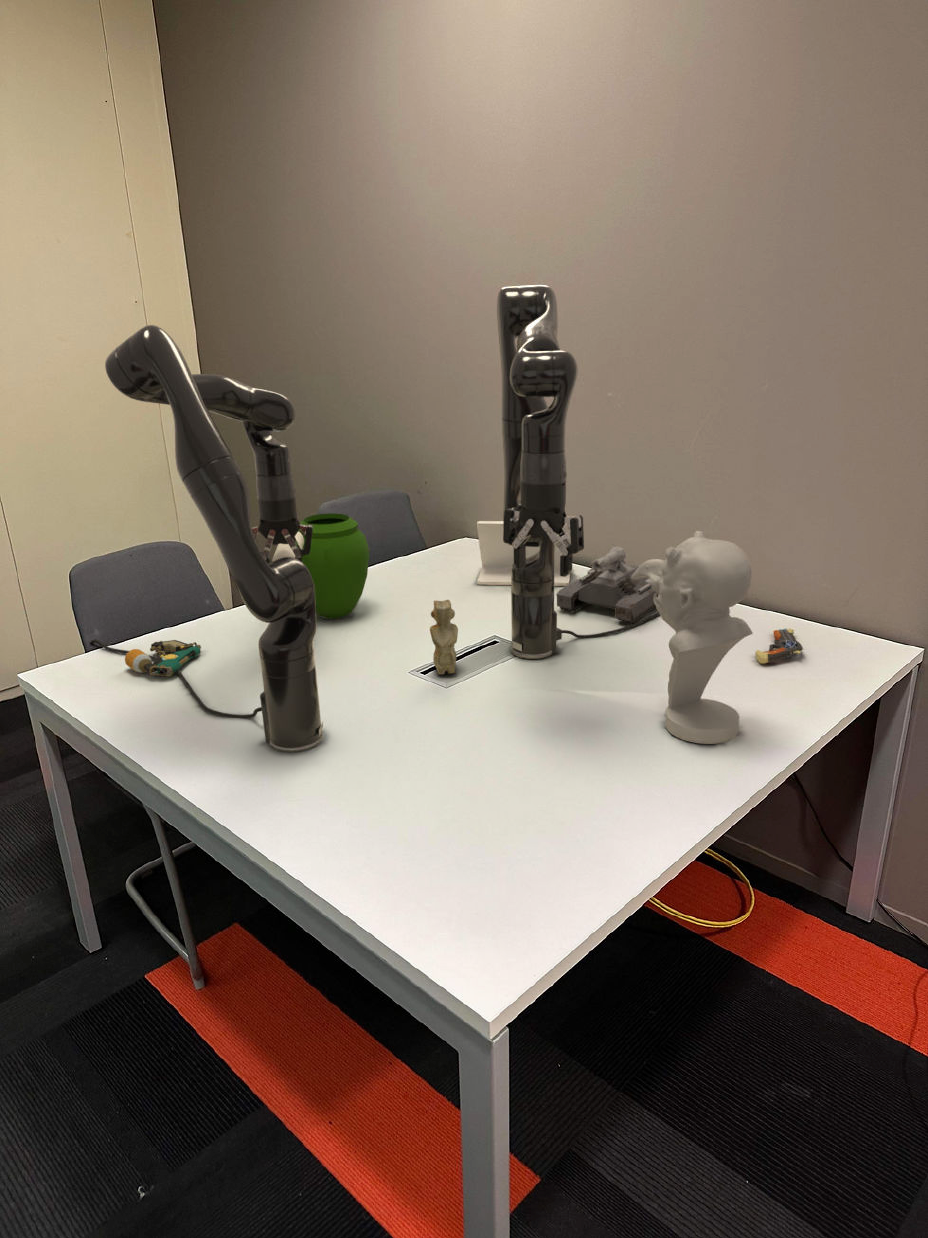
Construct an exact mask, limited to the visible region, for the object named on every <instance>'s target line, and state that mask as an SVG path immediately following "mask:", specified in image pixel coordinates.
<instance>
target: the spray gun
mask: <svg viewBox="0 0 928 1238" xmlns="http://www.w3.org/2000/svg"><path fill="white" fill-rule="evenodd" d="M201 649H202V645H201V644H198V643H197V642H196V641H194V642H190V643H186V642H183V641H181V640H177V639H171V640H159V641H154V642H153V643H151V645H150V648H149V651H150V652H155V653H156V658H155V659H154V660H152V659H151V658H150V657H149V656H148V655H149V654H147V653H145V651H142V650H141V649H138V648H132V649H130V650H128V651H129V652H128V653H127V654H125V656H124V662H125V665H126V666H127V667H128V668H130V669H131V670H133V671H135V672H137V673H139V674H143V673H146V672H147V673H149V674H150V675H151V676H162V677H171V676H172V675H173V674H174V673H175V671H177V670H178V671H179V669H181V667H182V666H184V664H186V663H187V662H189V660H191V659H192V658H196V657H197V656H198V655H200V654H201ZM168 652H170V653H169V654H166V653H168Z"/></svg>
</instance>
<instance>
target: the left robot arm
mask: <svg viewBox="0 0 928 1238" xmlns="http://www.w3.org/2000/svg"><path fill="white" fill-rule="evenodd" d="M104 369H105V373H106V375H107V378H108V379H109V381H110V383H111V385H113V387H114V388H115V389H116V390H117V391H119V392H120V393H121V394H122V395H124V396H125V397H127V398H129V399H132V400H135V401H139V402H143V403H144V402H145V403H151V404H160V405H167V406H170V409H171V413H172V416H173V424H174V425H173V427H174V458H175V467H176V471H177V473H178V476H179V478H180V480H181V482H182V484H183V485H184V487H185V489H186V491H187V493H188V494H189V497H190V498H191V500H192V501H193V503H194V505H195V507H196V508H197V510H198V511H199V514H200V515H201V517H202V519H203V520H204V522H205V524H206V526H207V528H208V529H209V532H210V533H211V535H212V537H213V540H214V541H215V543H216V545H217V547H218V549H219V551H220V553H221V556H222V557H223V559H224V562H225V564H226V566H227V569H228V571H229V574H230V576H231V578H232V580H233V583H234V584H235V587H236V590H237V593H238V594H239V596H240V598H241V600H242V603H243V604H244V606H245V607H246V609H247V610H248V611H249V613H250V614H251V615H252V616H253V617H254V618H255V619H256V620H258V621H260V622H262V623H267V626H266V628H265V630H264V631H263V632H262V634H261V635H260V636H259V639H258V653H259V661H260V667H261V669H260V671H261V677H262V684H263V685H262V686H263V692H261V693H260V695H259V699H260V706H259V707H257V708H255V709H254V710H253V712H252V713H250V714H249V713H248V714H235V713H234V714H233V713H227V712H222V711H218V710H214V709H212V708H209V707H208V706H206V705H205V704H204V702H203V701H202V699H201V698H200V697H199V695H198V694H197V693H196V692H195V691H194V688H193V687H192V686H191V684H190V683H189V682H188V680H187V679H186V677H185V676H184V675H183V673H181V671H180V670H179V669H178V670H177V671H175V672H174V673H175V674H176V675H177V676H178V677H179V678H180V680H181V681H182V682H183V684H184V685H185V687H186V688H187V690H188V691H189V692H190V694H191V695H192V697H193V698H194V699H195V700H196V702H197V703H198V705H199V706H200V708H201V709H202V710H204V711H205V712H207V713H210V714H212V715H216V716H219V717H223V718H232V719H252V718H255V717H256V716H257V714H258V713H260V712H261V716H262V723H263V731H264V732H263V733H264V739H265V743H267V744H269V745H270V747H271V748H273V749H275V750H276V751H280V752H284V753H285V752H286V753H296V752H302V751H307V750H309V749H312V748H314V747H316V746H317V745H319V744H320V743H321V742H322V741H323V739H324V733H323V732H324V731H323V728H324V721H322V719H321V709H320V696H319V686H318V677H317V669H316V658H315V657H316V656H315V647H314V640H315V637H316V634H317V614H316V601H315V589H314V583H313V579H312V577H311V574H310V572H309V570H308V569H307V567H306V566H305V565H304V564H303V561H302V557H303V556H304V555H308V554H309V553H310V549H311V541H312V533H313V525H311V524H309V525H302V524H300V521H299V519H298V513H297V511H298V510H297V502H296V501H297V500H296V488H295V482H294V478H293V472H292V461H291V453H290V448H289V446H288V445H287V444H286V443H284V442H282V441H279V440H277V439H276V438H275V436H274V434H273V432H284V431H286V430H288V429H289V428H291V427H292V426H293V424H294V422H295V420H296V408H295V405H294V404H293V402H292V401H291V399H289V398H288V397H287V396H285V395H284V394H282V393H279V392H275V391H273V390H272V391H271V390H269V389H268V390H267V389H262V388H259V387H254V386H251V385H248V384H246V383H243V382H241V381H239V380H237V379H235V378H232V377H229V376H226V375H223V374H218V373H192V372H191V369H190V367H189V365H188V363H187V361H186V358H185V357H184V355H183V353H182V351H181V349H180V347H179V346H178V345H177V343H176V342H175V340H174V339H173V338H172V337H171V335H170V334H169V333H167V331H166V330H164V329H163V328H161V327H159V326H157V325H156V324H155V325H154V324H147V325H144V326H143V327H141V328H139V329H138V330H137V331H135V332H134V333H132V335H130V336H129V337H127V339H125V341H123V342H122V343H120V344H119V345H118V346H116V347H115V348H114V349H113V350H111V352H110V353H109V354H108V356H107V357H106V359H105V362H104ZM210 413H213V414H216V415H218V416H221V417H224V418H227V419H230V420H233V421H239V422H242V427H243V428H244V431H245V434H246V437H247V439H248V442H249V445H250V447H251V450H252V452H253V457H254V468H255V476H256V477H255V478H256V479H255V487H256V497H257V507H258V516H259V524H258V526H253V527H252V518H251V517H252V515H251V511H252V510H251V509H252V508H251V493H250V487H249V484H248V481H247V479H246V476H245V475H244V473H243V471H242V469H241V467H240V466H239V464H238V462H237V461H236V458H235V457H234V454H233V453H232V451H231V449H230V448H229V446H228V445H227V443H226V441H225V440H224V438H223V436H222V434H221V433H220V431H219V428H218V427H217V425H216V423H215V421H214V419H213V418H212V416H211V414H210ZM299 530H301V531H302V534H303V535H304V536H306V538H305V546H304V548H302V549H301V548H300V547H299V545H298V542H297V540H296V538H295V536H296V534H297V533H298V531H299ZM259 533H260V535H262V536H263V538H264V539H265V540H266V541H265V545H264V548H263V549H260V546H259V544H258V540H257V538H258V535H259ZM278 544H289V546H290V548H291V549H292V551H293V553H294V554H295V558H292V557H285V558H281V559H278V560H275V561H273V562H272V559H271V556H270V553H271V550H272V546H278ZM94 643H96V644H98V645H99V646H100V647H102V648H103V649H105V650H108V651H110V652H112V653H113V652H114V653H119V654H125V655H126V654H127V653H128V652H129V651H130V650H125V649H119V648H113V647H109V646H108V645H107V644H104V642H102V641H100V640H98V639H97V638H95V639H92V640H91V641H90V642H89V645H94ZM147 655H148V656H149V657H150V658H151V660H152V661H154V659H155V658H156V657H157V656H156V657H155V656H153V655H150V654H147Z"/></svg>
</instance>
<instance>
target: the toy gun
mask: <svg viewBox="0 0 928 1238" xmlns="http://www.w3.org/2000/svg"><path fill="white" fill-rule="evenodd" d="M772 632H773V637H774V639H775V640H774V643H772V644H769V649H768V651H762V650H758V649H757V650H755V652H754V654H755V658H756V661H758V663H760V664H767V663H772V662H776V661H778V660H781V659H785V658H788V657H791V656H793V655H800V654H801V652H802V651H804V650H805V648H804V647H803V645H802V644H801V643H800V642H799V641H797V639H796V637H795V636H794V634H795V630H794V629H793V628H783V629H782V628H780V629H774V630H773V631H772Z"/></svg>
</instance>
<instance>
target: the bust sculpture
mask: <svg viewBox="0 0 928 1238" xmlns="http://www.w3.org/2000/svg"><path fill="white" fill-rule="evenodd" d="M664 554H665V559H660V558H653V559H648V560H645V561H644V562H642V563H641V564H640V565H639V566H638V567H639V568H638V569H637V570H636V571H635V573H634V574H633V575H632V576H631V578H632V579H634V580H635V579H640V578H644V577H647V578H649V579H650V583H651V587H652V589H653V590H654V591H655V592H656V593H655V594H654V597H653V600H654V604H655V605H656V607H655V608H656V611H657V612H659V615H660V618H661V619H662V620H663V622H665V623H666V624H667V625H668V626H669V627H670V628H671V629H672V630H673V631H675V634H673V635H672V636H671V638H669V641H668V649H669V653H670V654H671V657H672V658H673V660H672V663H671V666H670V669H669V673H668V682H667V694H668V696H667V697H668V700H667V705H668V706H666V708H665V718H664V726H665V728H666V730H667V731H668V732H669V733H670V734H671V735H673V736H675V737H676V738H679V739H680V740H683V741H687V742H691V743H696V744H703V745H713V744H721V743H726V742H729V741H731V740H733V739H734V738H736V736H738V733H739V729H740V728H739V727H740V715H739V714H740V713H738V711H737V710H736V709H735V708H734V707H732V706H730V705H728V704H727V703H724V702H721V701H719V700H714V699H709V698H702V696H703V695H704V694H703V693H704V692H705V690H706V687H707V685H708V684H709V681H710V680H711V678H712V676H713V674H714V673H715V671H716V670H717V668H718V667H719V665H720V664H721V662H722V661H723V660H724V658H725V656H726V655H727V654H728V653H729V652H730V651H731V650H732V649H733V648H734V647H735V646H736V645H738V643H739V642H741V641H742V640H743V639H745V638H747V637H749V636H751V635H753V634H754V632H753V630H752V629H751V628H750V626H749V624H748V623H747V622H746V621H745V620H744V619H743V618H740V617H737V616H731V614H730V613H731V610H730V608H732V607H734V606H736V605H737V604H739V603H740V602H741V601H742V600H744V599H745V597H746V595H747V594H748V592H749V590H750V586H751V583H752V574H753V573H752V572H753V571H752V565H751V561H750V559H749V557H748V555H747V554H746V552H745V551H744V550H743V549H742V548H741V547H740V546H739V545H737V544H736V543H734V542H731V541H728V540H723V539H711V538H707V536H706V534H705V532H703V530H696V531H694V533H693V536H691V537H689V538H687V539H684V541H682V542H681V543H679V544H678V545H677V546H675V547H674V546H669V547H667V548H666V551H665V553H664Z"/></svg>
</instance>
